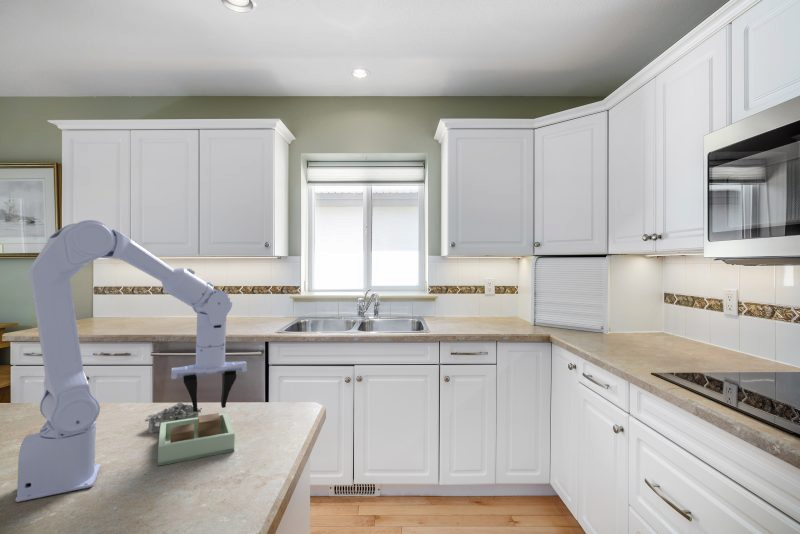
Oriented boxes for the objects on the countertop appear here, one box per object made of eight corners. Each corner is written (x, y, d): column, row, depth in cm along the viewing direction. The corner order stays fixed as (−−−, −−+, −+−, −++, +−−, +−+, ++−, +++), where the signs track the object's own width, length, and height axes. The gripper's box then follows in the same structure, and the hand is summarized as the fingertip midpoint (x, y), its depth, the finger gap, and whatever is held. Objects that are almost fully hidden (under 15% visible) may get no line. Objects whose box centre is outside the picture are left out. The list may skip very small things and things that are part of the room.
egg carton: (167, 437, 85) (168, 418, 85) (140, 432, 87) (141, 414, 87) (204, 419, 95) (205, 402, 95) (180, 416, 97) (180, 399, 97)
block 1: (169, 455, 75) (170, 434, 75) (170, 447, 78) (171, 426, 78) (193, 451, 77) (194, 430, 77) (193, 443, 80) (193, 423, 80)
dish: (157, 466, 72) (158, 446, 72) (160, 439, 83) (160, 422, 83) (234, 451, 78) (234, 433, 78) (226, 428, 90) (227, 412, 90)
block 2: (198, 441, 81) (199, 422, 81) (197, 434, 85) (198, 415, 85) (219, 438, 83) (220, 419, 83) (217, 431, 87) (218, 413, 87)
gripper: (172, 351, 77) (170, 420, 77) (249, 345, 85) (248, 408, 84) (172, 345, 84) (170, 409, 83) (244, 340, 91) (243, 399, 91)
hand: (209, 408), depth 84 cm, fingers open, 5 cm apart
